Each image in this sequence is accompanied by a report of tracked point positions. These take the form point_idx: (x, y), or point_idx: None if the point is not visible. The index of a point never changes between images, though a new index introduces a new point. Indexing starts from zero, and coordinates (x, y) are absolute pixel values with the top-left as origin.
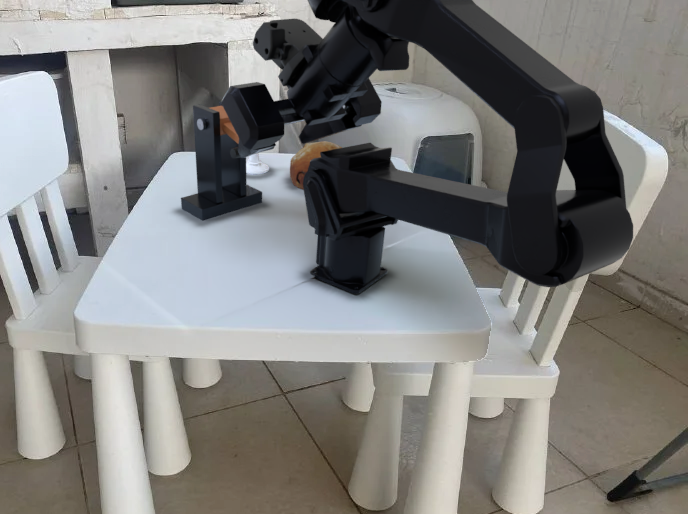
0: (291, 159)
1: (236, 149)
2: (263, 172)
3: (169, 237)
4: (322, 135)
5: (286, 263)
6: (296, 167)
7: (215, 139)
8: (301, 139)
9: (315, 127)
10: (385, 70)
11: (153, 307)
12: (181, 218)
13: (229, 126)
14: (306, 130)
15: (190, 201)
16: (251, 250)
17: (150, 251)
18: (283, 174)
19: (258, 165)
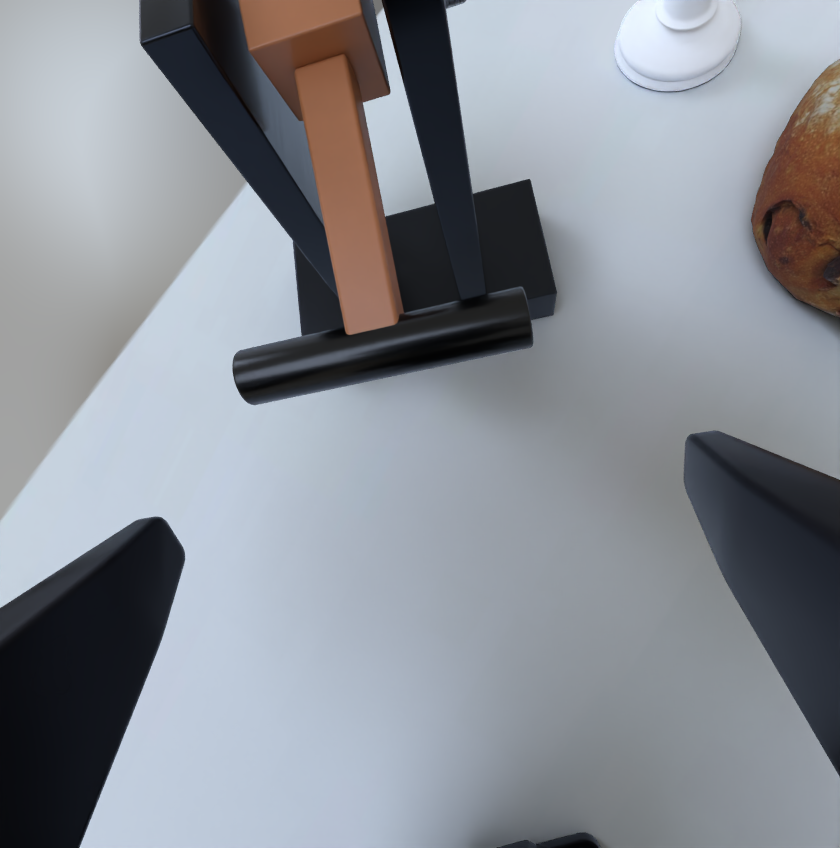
0: (816, 88)
1: (248, 380)
2: (692, 76)
3: (209, 405)
4: (834, 757)
5: (399, 744)
6: (794, 170)
7: (253, 177)
8: (692, 469)
9: (829, 652)
10: None
11: None
12: (290, 306)
13: (317, 109)
14: (745, 522)
15: (303, 277)
16: (353, 600)
17: (136, 460)
18: (774, 92)
19: (691, 33)
